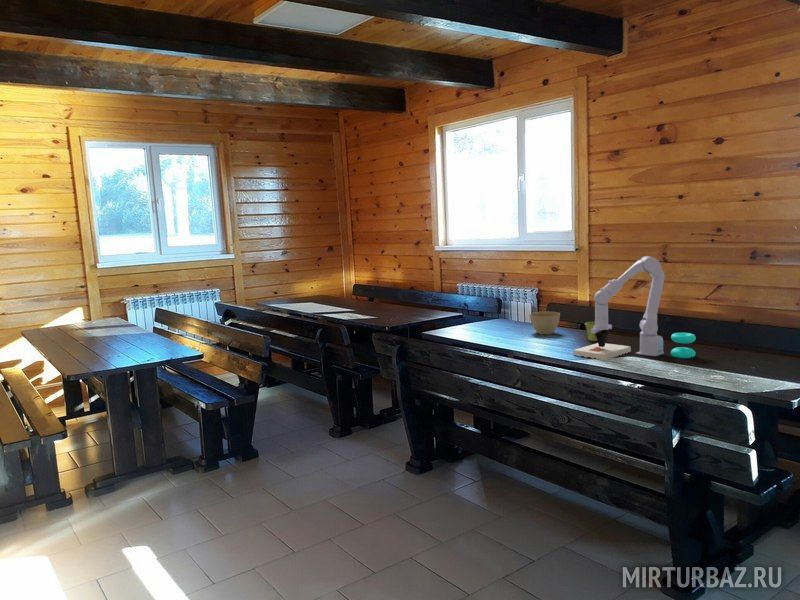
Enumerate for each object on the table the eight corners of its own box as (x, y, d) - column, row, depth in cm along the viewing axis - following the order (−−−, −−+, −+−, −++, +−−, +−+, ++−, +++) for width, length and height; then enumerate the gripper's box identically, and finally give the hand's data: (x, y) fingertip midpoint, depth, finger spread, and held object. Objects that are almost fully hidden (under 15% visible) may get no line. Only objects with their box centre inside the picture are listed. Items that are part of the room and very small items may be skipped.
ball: (597, 353, 283) (599, 358, 286) (602, 346, 284) (604, 351, 287) (590, 350, 286) (592, 355, 289) (595, 343, 288) (597, 349, 290)
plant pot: (583, 341, 320) (583, 324, 319) (586, 337, 328) (586, 321, 327) (602, 342, 316) (602, 325, 315) (605, 338, 324) (605, 322, 323)
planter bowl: (531, 330, 356) (531, 311, 355) (561, 331, 351) (560, 311, 350) (528, 335, 341) (528, 315, 339) (559, 336, 336) (558, 316, 334)
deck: (630, 351, 291) (630, 346, 291) (605, 360, 277) (605, 354, 277) (599, 347, 303) (599, 342, 303) (573, 355, 289) (573, 350, 289)
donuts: (669, 335, 275) (672, 331, 284) (669, 357, 276) (672, 353, 285) (694, 336, 270) (697, 332, 279) (694, 359, 271) (696, 355, 280)
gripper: (602, 314, 295) (602, 343, 297) (585, 318, 286) (585, 348, 288) (616, 315, 290) (616, 344, 292) (599, 320, 281) (599, 350, 282)
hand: (601, 346), depth 289 cm, fingers closed
